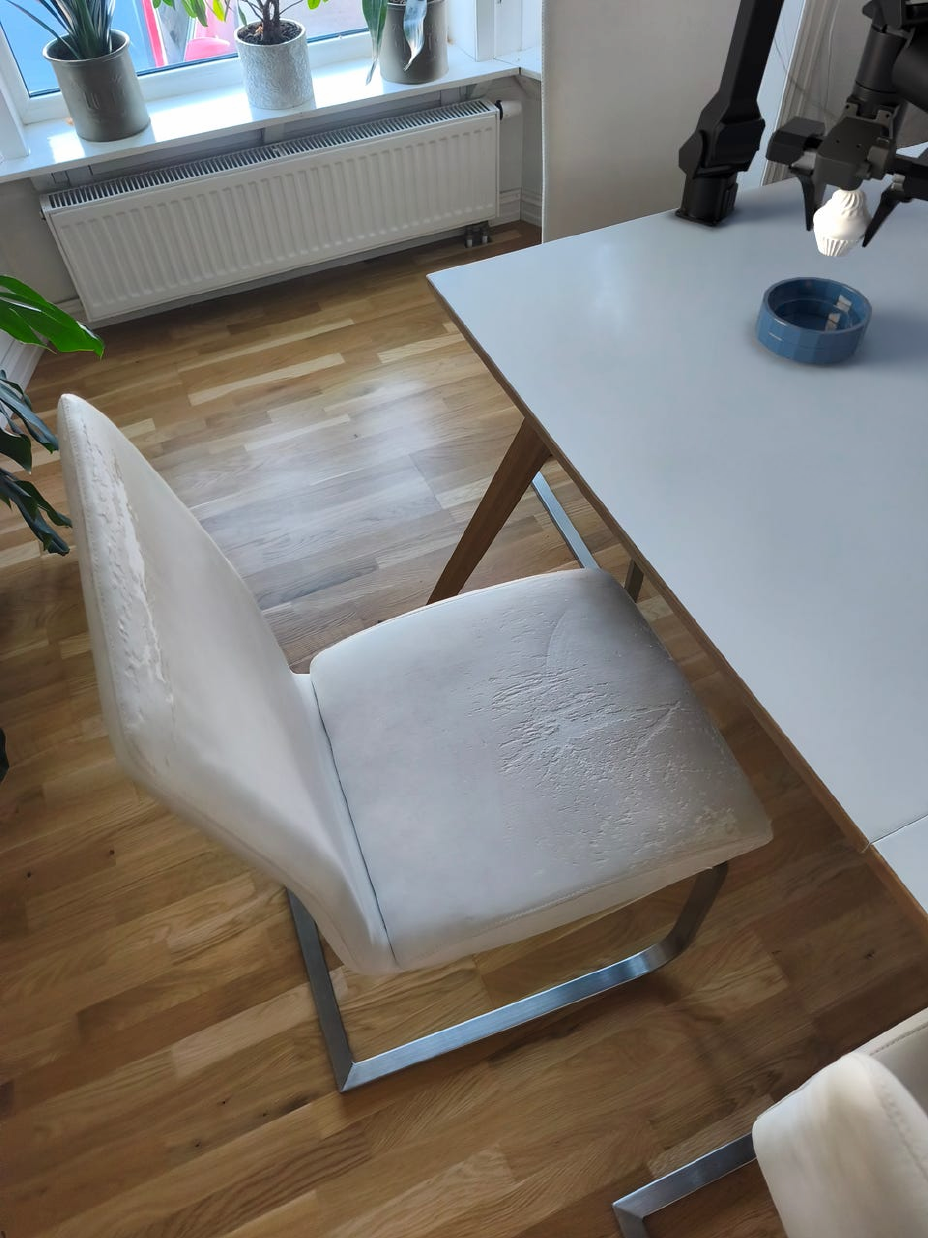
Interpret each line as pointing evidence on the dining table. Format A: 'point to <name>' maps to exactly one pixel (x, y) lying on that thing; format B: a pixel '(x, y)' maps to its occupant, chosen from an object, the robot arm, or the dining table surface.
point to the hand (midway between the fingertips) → (836, 237)
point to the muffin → (842, 222)
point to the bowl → (813, 319)
